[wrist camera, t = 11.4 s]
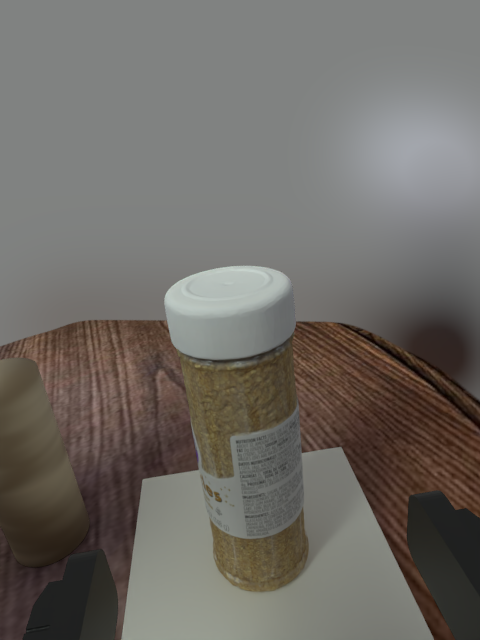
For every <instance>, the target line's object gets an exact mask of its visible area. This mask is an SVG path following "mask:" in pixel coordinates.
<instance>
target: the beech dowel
mask: <svg viewBox="0 0 480 640" xmlns="http://www.w3.org/2000/svg"><path fill="white" fill-rule="evenodd" d="M89 524H90V520H89V516H88V513H87V510H86V507H85V504H84V501H83V498H82V496H81V493H80V490H79V487H78V484H77V481H76V478H75V475H74V472H73V469H72V466H71V463H70V460H69V457H68V454H67V452H66V449H65V446H64V443H63V440H62V437H61V434H60V431H59V428H58V425H57V422H56V419H55V416H54V413H53V410H52V407H51V405H50V402H49V399H48V396H47V393H46V390H45V387H44V384H43V381H42V378H41V375H40V372H39V369H38V366H37V364H36V362H35V361H33V360H31V359H27V358H10V359H3V360H0V526H1V528H2V530H3V532H4V535H5V537H6V539H7V541H8V543H9V546H10V548H11V550H12V552H13V554H14V557H15V559H16V560H17V561H18V562H19V563H20V564H22V565H24V566H27V567H42V566H46V565H50V564H52V563H55V562H57V561H59V560H61V559H63V558H64V557H66V556H67V555H69V554H70V553H71V552H73V551H74V550H75V549H76V548H77V547H78V546H79V545H80V543H81V542H82V541H83V539H84V538H85V536H86V534H87V532H88V529H89Z"/></svg>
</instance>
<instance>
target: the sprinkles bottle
mask: <svg viewBox="0 0 480 640" xmlns="http://www.w3.org/2000/svg"><path fill="white" fill-rule="evenodd" d="M164 303H165V310H166V315H167V321H168V327H169V332H170V336H171V341H172V343H173V345H174V346H175V347H176V348H177V354H178V356H179V357H180V358H181V365H182V371H183V375H184V384H185V387H186V393H187V399H188V403H189V409H190V415H191V427H192V433H193V438H194V444H195V450H196V455H197V461H198V467H199V472H200V477H201V483H202V488H203V494H204V499H205V505H206V510H207V513H208V515H209V519H210V526H211V530H212V536H213V555H214V556H213V557H214V560H215V563H216V566H217V568H218V570H219V571H220V573H221V574H222V575H223V576H224V577H225V578H226V579H227V580H228V581H229V582H230V583H231V584H232V585H234V586H238V587H239V588H241V589H243V590H247V591H253V592H265V591H274V590H276V589H279V588H280V587H282V586H284V585H286V584H288V583H290V582H291V581H292V580H293V579H295V578H296V577H297V576H298V575H299V574H300V572H301V571H302V570H303V569H304V566H305V563H306V561H307V557H308V551H309V542H308V537H307V534H306V531H305V528H304V511H303V504H304V484H303V467H302V452H301V437H300V422H299V407H298V397H297V394H296V388H295V375H294V365H293V348H292V339H293V337H294V329H295V326H296V319H295V305H294V295H293V286H292V282H291V281H290V279H289V278H288V277H287V276H286V275H285V274H283V273H281V272H280V271H277V270H274V269H270V268H266V267H259V266H233V267H224V268H217V269H212V270H207V271H204V272H200V273H197V274H194V275H191V276H189V277H186V278H184V279H182V280H180V281H179V282H177V283H176V284H174V285H173V286H172V287H171V288H170V289H169V290H168V291H167V293H166V295H165V301H164Z"/></svg>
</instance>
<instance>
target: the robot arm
mask: <svg viewBox="0 0 480 640" xmlns="http://www.w3.org/2000/svg"><path fill="white" fill-rule="evenodd" d="M407 541H408V546H409V550H410V553H411V556H412V558H413V561H414V563H415V565H416V566H417V568H418V570H419V572H420V574H421V576H422V578H423V580H424V581H425V583H426V585H427V587H428V589H429V591H430V593H431V595H432V596H433V598H434V600H435V602H436V604H437V606H438V608H439V609H440V611H441V613H442V615H443V617H444V619H445V621H446V623H447V624H448V626H449V628H450V630H451V632H452V634H453V636H454V638H455V639H456V640H480V518H479V517H477V516H476V515H475V514H473V513H472V512H470V511H469V510H468V509H466V508H465V509H459V510H455V509H454V507H453V506H452V505H451V503H450V502H449V500H448V499H447V498H446V496H445V495H444V494H443V493H442V492H441V491H432V492H426V493H421V494H415V495H411V496H410V497H409V506H408V524H407ZM117 615H118V597H117V590H116V586H115V583H114V580H113V577H112V574H111V571H110V568H109V565H108V562H107V559H106V556H105V553H104V551H103V550H102V549H99V550H93V551H88V552H82V553H76V554H72V555H71V556H70V557H69V559H68V562H67V565H66V569H65V573H64V576H63V580H60V581H55V582H49V583H48V585H47V586H46V588H45V589H44V591H43V592H42V594H41V595H40V596H39V598H38V599H37V601H36V602H35V604H34V606H33V609H32V612H31V615H30V618H29V621H28V624H27V628H26V634H24V637H23V640H114V637H115V630H116V623H117Z"/></svg>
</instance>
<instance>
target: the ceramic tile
mask: <svg viewBox="0 0 480 640" xmlns="http://www.w3.org/2000/svg"><path fill="white" fill-rule="evenodd" d="M302 467H303V484H304V504H303V511H304V528H305V531H306V534H307V537H308V542H309V551H308V557H307V561H306V563H305V566H304V569H303V570H302V571H301V572H300V574H299V575H298V576H297V577H296V578H295V579H293V580H292V581H291V582H290V583H288V584H286V585H284V586H282V587H280V588H279V589H276V590H274V591H265V592H253V591H247V590H243V589H241V588H239V587H238V586H234V585H232V584H231V583H230V582H229V581H228V580H227V579H226V578H225V577H224V576H223V575H222V574H221V573H220V571H219V570H218V568H217V566H216V563H215V560H214V557H213V556H214V555H213V536H212V530H211V526H210V519H209V515H208V513H207V510H206V505H205V499H204V494H203V488H202V483H201V477H200V472H199V470H196V471H190V472H183V473H177V474H171V475H165V476H159V477H153V478H147V479H143V481H142V488H141V496H140V503H139V511H138V518H137V526H136V533H135V541H134V548H133V556H132V563H131V571H130V578H129V586H128V593H127V601H126V608H125V616H124V623H123V631H122V638H121V640H434V638H433V636H432V634H431V632H430V630H429V628H428V626H427V624H426V622H425V620H424V617H423V615H422V613H421V611H420V609H419V607H418V605H417V603H416V601H415V599H414V597H413V595H412V593H411V591H410V588H409V586H408V584H407V582H406V580H405V578H404V576H403V574H402V572H401V570H400V568H399V566H398V564H397V561H396V559H395V557H394V555H393V553H392V551H391V549H390V547H389V545H388V543H387V541H386V539H385V537H384V535H383V532H382V530H381V528H380V526H379V524H378V522H377V520H376V518H375V516H374V514H373V512H372V510H371V508H370V506H369V503H368V501H367V499H366V497H365V495H364V493H363V491H362V489H361V487H360V485H359V483H358V481H357V479H356V476H355V474H354V472H353V470H352V468H351V466H350V464H349V462H348V460H347V458H346V456H345V454H344V452H343V450H342V447H337V448H331V449H324V450H318V451H312V452H306V453H302Z"/></svg>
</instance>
